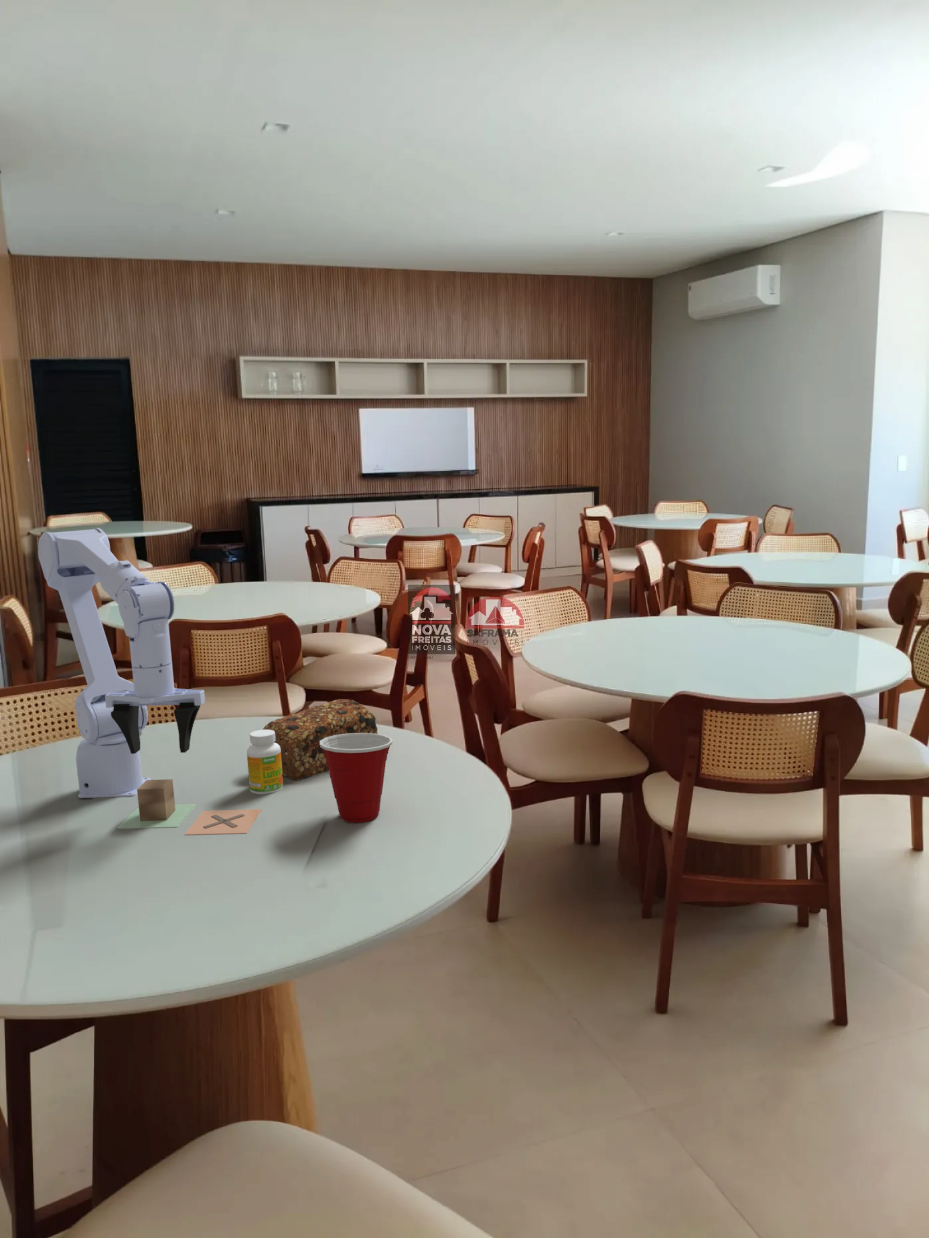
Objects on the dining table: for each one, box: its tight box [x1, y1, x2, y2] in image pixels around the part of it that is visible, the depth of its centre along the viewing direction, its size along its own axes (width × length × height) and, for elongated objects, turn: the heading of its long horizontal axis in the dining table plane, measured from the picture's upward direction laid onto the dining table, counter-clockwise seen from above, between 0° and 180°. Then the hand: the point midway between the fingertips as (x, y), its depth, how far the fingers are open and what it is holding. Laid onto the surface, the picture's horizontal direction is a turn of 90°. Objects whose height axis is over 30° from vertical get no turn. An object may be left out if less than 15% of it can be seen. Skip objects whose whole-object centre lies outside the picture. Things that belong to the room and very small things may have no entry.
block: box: [137, 779, 176, 821], centre depth 138 cm, size 4×4×5 cm
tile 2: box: [184, 808, 263, 836], centre depth 136 cm, size 9×9×1 cm
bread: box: [262, 698, 379, 781], centre depth 162 cm, size 19×11×10 cm, turn 135°
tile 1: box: [116, 803, 197, 830], centre depth 139 cm, size 9×9×1 cm
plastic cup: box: [320, 733, 393, 824], centre depth 136 cm, size 11×11×12 cm
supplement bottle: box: [246, 729, 284, 795], centre depth 148 cm, size 5×5×10 cm
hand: (160, 751), depth 139 cm, fingers open, 7 cm apart
